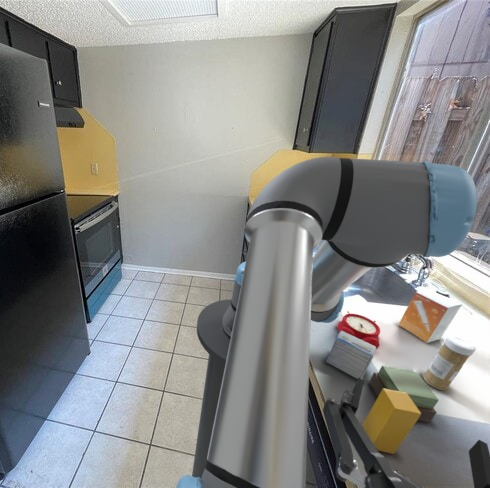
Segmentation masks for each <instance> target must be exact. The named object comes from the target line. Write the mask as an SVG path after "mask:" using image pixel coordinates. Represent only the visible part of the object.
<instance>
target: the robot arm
mask: <svg viewBox="0 0 490 488" xmlns="http://www.w3.org/2000/svg"><path fill="white" fill-rule="evenodd" d="M477 196H478V194H477V188H476V184H475V181H474V179H473V177H472V176H471V174H470V173H469V172H468V171H466V170H465V169H464V168H462V167H460V166H457V165H453V164H452V165H451V164H442V163H433V162H431V161H429V160H424V161H403V160H385V159H368V158H351V157H350V158H349V157H338V156H320V157H313V158H310V159H306V160H303V161H301V162H298V163H296V164H295V163H294V165H292V166H290V167H288V168H287V169H285V170H283V171H281V172H280V173H279V174H277V175H276V176H275V177H273V178H272V179H271V180H270V181H269V182H268V183H266V185H265V186H264V187H263V188H262V189H261V190H260V192H259V193H258V194H257V196H256V198H255V199H254V200H253V202H252V204H251V206H250V208H249V211H248V213H247V217H246V221H245V226H244V237H245V239H246V241H247V242H248V243H249V244H248V250H247V253H246V258H245V260H246V261H244V262H241V263H240V264H238V267H237V269H236V274H235V276H234V277H233V279H234V284H233V290H232V296H231V299H232V300H231V299H230V300H231V305H230V306H229V308H228V309H227V311H226V313H225V314H224V316H223V319H222V329H223V331H224V333H225V334H226V335H227V336H228V337H229V338H230V339H231V340H230V345H229V350H228V355H227V360H226V365H225V370H224V375H223V380H222V385H221V390H220V395H219V400H218V405H217V410H216V415H215V420H214V425H213V430H212V435H211V440H210V446H209V451H208V456H207V462H206V466H205V470H204V472H203V475H202V478H201V479H200V478H199V476H198V477H197V478H195V477H193V476H192V475H191V474H185V475H182V476H181V477H180V478H179V480H178V481H177V484H176V487H175V488H306V487H307V485H306V482H307V453H308V451H307V450H308V449H307V448H308V422H309V421H308V416H309V390H310V388H309V386H310V358H311V357H310V355H311V354H310V353H311V326H312V325H311V324H312V323H311V322H315V323H323V324H331V323H333V322H334V321H336V319H338V317H339V316H340V313H341V312H342V310H343V307H344V302H345V293H344V291H345V290H346V289H347V288H349V287H350V286H351V285H352V284H353V283H355V282H356V281H357V280H359V279H360V278H361V277H362V276H364V275H365V274H367V272H369V271H370V270H372V269H381V268H383V269H384V268H387V267H391V266H393V265H395V264H397V263H399V262H400V261H402V260H403V259H405V258H407V256H409V255H419V256H422V257H423V258H430V257H433V258H441V257H442V258H443V257H447V256H448V255H450V254H452V253H454V252H456V250H458V248H459V247H460V246H461V245H462V244H463V243H464V241H465V240H466V238H467V237H468V234H469V232H470V231H471V228H472V226H473V221H474V219H475V215H476V212H477V203H478V201H477V200H478V197H477ZM322 241H323V242H322ZM321 242H322V243H321ZM320 244H321V245H320ZM319 245H320V246H319ZM318 246H319V247H318ZM317 247H318V249H317V250H316V252H315V254H314V250H315V249H316V248H317ZM364 383H365V380H364V379H360V378H358V379H356V382H355V384H354V386H353V388H352V392H351V391H349V390H347V389H346V390H345V391H344V392H343V395H341V400H340V402H336V400H335V399H333V398H331V397H328V398H327V399H326V401H325V404H324V405H323V408H322V413H323V417H324V420H325V424H326V427H327V431H328V434H329V437H330V441H331V445H332V449H333V452H334V455H335V460H336V463H335V476H336V478H337V479H338V480H339V481H340V482H343V483H345V482H346V481H347V480H348V481H349V482H350V483H352V484H354V485H356V486H357V487H358V488H425V487H424V486H422V485H420V484H417V483H416V482H414V481H412V480H411V479H410V478H409V477H408V476H406V475H405V473H402V472H401V471H399V470H397V469H396V471H395V470H394V469H393V468H392V466H391V465H390V463H389V461H388V460H387V458H386V457H385V455H383V454H381V453H380V451H378V450H377V449H376V447H375V446H374V444H373V442H372V441H371V439H370V438H369V436H368V434H367V433H366V431H365V430H364V428H363V426H362V425H363V424H362V423H361V422H360V420H359V418H358V417H357V415H356V413H357V411H358V409H359V405H360V400H361V397H362V392H363V388H364ZM350 442H351V443H350ZM351 444H352V446H353V448H354V449H355V452H356V453H357V455H358V456H359V458H360V460H361V462H362V464H363V468H364V472H365V473H366V476H365V475H363V474H362V472H361V470H360V467H359V464H358V462H357V461H356V460H355V459H354V453H353V449H352V446H351ZM468 456H469V462H470V469H471V470H470V471H471V475H472V476H471V477H472V482H473V488H490V450H489V445H488V443H487V442H486V441H485V442H484V441H483V440H481V439H478V440H477V441H476V442H475V443H474V444H473V446H471V448H470V449H468Z"/></svg>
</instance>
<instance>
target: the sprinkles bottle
mask: <svg viewBox="0 0 490 488" xmlns="http://www.w3.org/2000/svg"><path fill="white" fill-rule="evenodd" d="M476 349H477V347H476V346H475V344H474V343H472V342H471V341H469V340H468V339H466V338H463V337H461V336H458V335H453V334H450V335H447V337H445V339H444V340H443V344H442V346H441V348H439V351H438V352H437V353H436V355H435V356H434V358H433V360H432V361H431V363H430V365H429V366H428V368H427V370H426V372H425V373H424V374H423V375H422V379H423V380H424V382H425V383H426V384H427V385H428V386H430V387H432V388H434V389H437V390H438V391H447V390H449V387H450V385H451V384H452V383H453V381H454V380H455V379H456V378H457V375H458V374H459V373H460V371H461V370H462V369H463V366H464V365H465V364H466V361H467V360H468V358H469V357H471V356H472V355H473V354H474V353H475V352H476Z"/></svg>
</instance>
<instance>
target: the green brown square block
mask: <svg viewBox="0 0 490 488" xmlns="http://www.w3.org/2000/svg"><path fill="white" fill-rule="evenodd" d="M368 383H369V385H370V387H371V389H372V390H373V392H374V395H375V396H376V398H378V396H379V395H380V393H381V391H382V389H383V388H384V389H389V390H394V391H399V392H404V393H407V394H408V395H409V397H410V398H411V400H412V401H413V402H414V404H415V405H416V407H417V408H418V410H419V411H420V413H421V415H420V417H419V418H418V420H417V421H418V422H424V423H427V424H430V423H431V421H432V420H433V419H434V418H435V416H436V415H437V410H436V409H435V407H436V405H437V404H438V403H439V401H440V399H439V397H437V395H436V394H435V393H434V391H433V390H432V389H431V387H429V384H428V383H427V382H426V381H425V380H424V378H423V377H421V375H420V374H419V373H418V371H415V370H409V369H405V368H399V367H393V366H387V365H381V367H380V369H379V370H378V372H376V371H375V372H374V371H373V374H372V375H371V376H370V379H369V381H368Z"/></svg>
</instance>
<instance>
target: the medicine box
mask: <svg viewBox="0 0 490 488" xmlns="http://www.w3.org/2000/svg"><path fill="white" fill-rule="evenodd" d="M376 350H377V349H376V347H375V346H373V345H371V344H369V343H367V342H365V341H363V340H361V339H358V338H356V337H354V336H352V335H350V334H348V333H345V332H343V331H340V332H339V333H338V332H337V334H336V337H335V339H334V340H333V344H332V347H331V349H330V351H329V354H328V357H327V359H326V361H325V362H326V363H327V364H329V365H331V366H332V367H335V368H336V369H338V370H340V371H342V372H344V373H345V374H347V375H349V376H351V377H353V378H355V379H356V380H358V378H360V379H362V380H364V379H363V378H364V376H365V374H366V372H367V370H368V368H369V366H370V364H371V363H372V360H373V358H374V357H375V354H376Z"/></svg>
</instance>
